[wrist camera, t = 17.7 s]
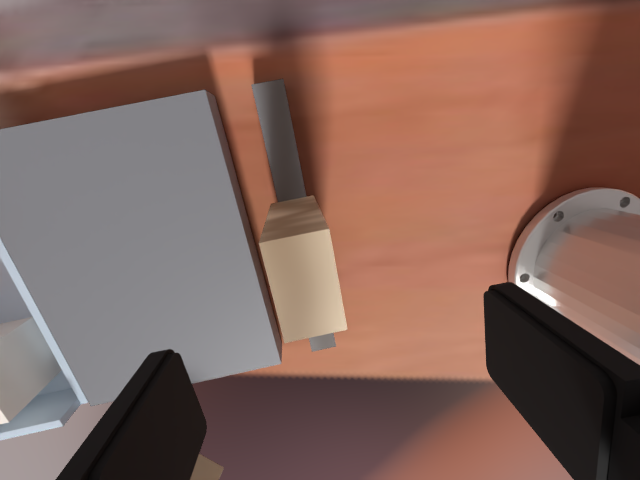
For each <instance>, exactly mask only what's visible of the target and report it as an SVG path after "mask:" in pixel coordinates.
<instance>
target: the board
mask: <svg viewBox="0 0 640 480" xmlns="http://www.w3.org/2000/svg"><path fill="white" fill-rule="evenodd" d="M0 238H1V239H2V241H3V243H4V245H5V247H6V249H7V251H8V252H9V254H10V256H11V258H12V260H13V262H14V264H15V266H16V267H17V269H18V271H19V273H20V275H21V277H22V279H23V281H24V282H25V284H26V286H27V288H28V290H29V292H30V294H31V295H32V297H33V299H34V301H35V303H36V305H37V307H38V309H39V310H40V312H41V314H42V316H43V318H44V320H45V322H46V323H47V325H48V327H49V329H50V331H51V333H52V335H53V337H54V338H55V340H56V342H57V344H58V346H59V348H60V350H61V351H62V353H63V355H64V357H65V359H66V361H67V363H68V365H69V366H70V368H71V370H72V372H73V374H74V376H75V378H76V379H77V381H78V383H79V385H80V387H81V389H82V391H83V393H84V394H85V396H86V398H87V400H88V402H89V404H90V406H94V405H99V404H103V403H108V402H112V401H114V400H115V399H116V398H117V396H118V395H119V394H120V392H121V391H122V390H123V388H124V387H125V386H126V384H127V383H128V382H129V380H130V379H131V378H132V376H133V375H134V374H135V372H136V371H137V370H138V368H139V367H140V366H141V364H142V363H143V361H144V360H145V359H146V357H147V356H148V355H149V354H150V353H152V352H157V351H162V350H167V349H172V350H173V351H174V352H175V353H179V354H180V355H181V357H182V360H183V362H184V365H185V368H186V370H187V373H188V375H189V378H190V381H191V383H192V384H193V383H197V382H201V381H206V380H210V379H215V378H220V377H224V376H228V375H233V374H238V373H242V372H246V371H251V370H255V369H260V368H264V367H269V366H273V365H278V364H281V357H282V343H281V339H280V335H279V331H278V328H277V324H276V320H275V317H274V313H273V309H272V306H271V302H270V298H269V295H268V291H267V287H266V283H265V280H264V276H263V272H262V269H261V265H260V261H259V258H258V254H257V250H256V247H255V243H254V239H253V235H252V232H251V228H250V224H249V221H248V217H247V213H246V210H245V206H244V202H243V199H242V195H241V191H240V187H239V184H238V180H237V176H236V173H235V169H234V165H233V162H232V158H231V154H230V150H229V147H228V143H227V139H226V136H225V132H224V128H223V125H222V121H221V117H220V114H219V110H218V106H217V102H216V99H215V96H214V95H213V94H211V93H210V92H208V91H206V90H201V91H195V92H190V93H185V94H180V95H175V96H170V97H164V98H159V99H154V100H149V101H144V102H139V103H133V104H128V105H123V106H118V107H113V108H108V109H102V110H97V111H92V112H87V113H82V114H77V115H71V116H66V117H61V118H56V119H51V120H46V121H40V122H35V123H30V124H25V125H20V126H15V127H10V128H4V129H0Z"/></svg>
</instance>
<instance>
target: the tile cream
mask: <svg viewBox="0 0 640 480" xmlns="http://www.w3.org/2000/svg"><path fill="white" fill-rule="evenodd" d="M61 370H62V369H61V367H60V366H59V364H58V362H57V360H56V358H55V356H54V355H53V353H52V351H51V349H50V347H49V345H48V344H47V342H46V340H45V338H44V336H43V334H42V333H41V331H40V329H39V327H38V325H37V323H36V322H35V320H34V318H33V317H30V318H25V319H20V320H15V321H11V322H6V323H1V324H0V424H5V423H9V422H10V421H11V420H12V419H13V418H14V417H15V416H16V415H17V414H18V413H19V412H20V411H21V410H22V409H23V408H24V407H25V406H26V405H27V404H28V403H29V402H30V401H31V400H32V399H33V398H34V397H35V396H36V395H37V394H38V393H39V392H40V391H41V390H42V389H43V388H44V387H45V386H46V385H47V384H48V383H49V382H50V381H51V380H52V379H53V378H54V377H55V376H56V375H57V374H58V373H59V372H60V371H61Z"/></svg>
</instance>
